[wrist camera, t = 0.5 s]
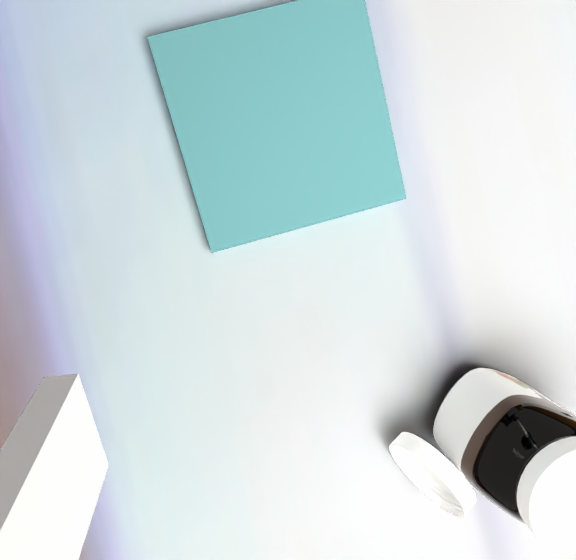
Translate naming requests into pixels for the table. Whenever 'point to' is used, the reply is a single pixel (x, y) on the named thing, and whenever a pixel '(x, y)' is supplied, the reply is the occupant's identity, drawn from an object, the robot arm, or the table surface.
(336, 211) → the mat
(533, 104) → the table surface
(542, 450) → the spread jar
